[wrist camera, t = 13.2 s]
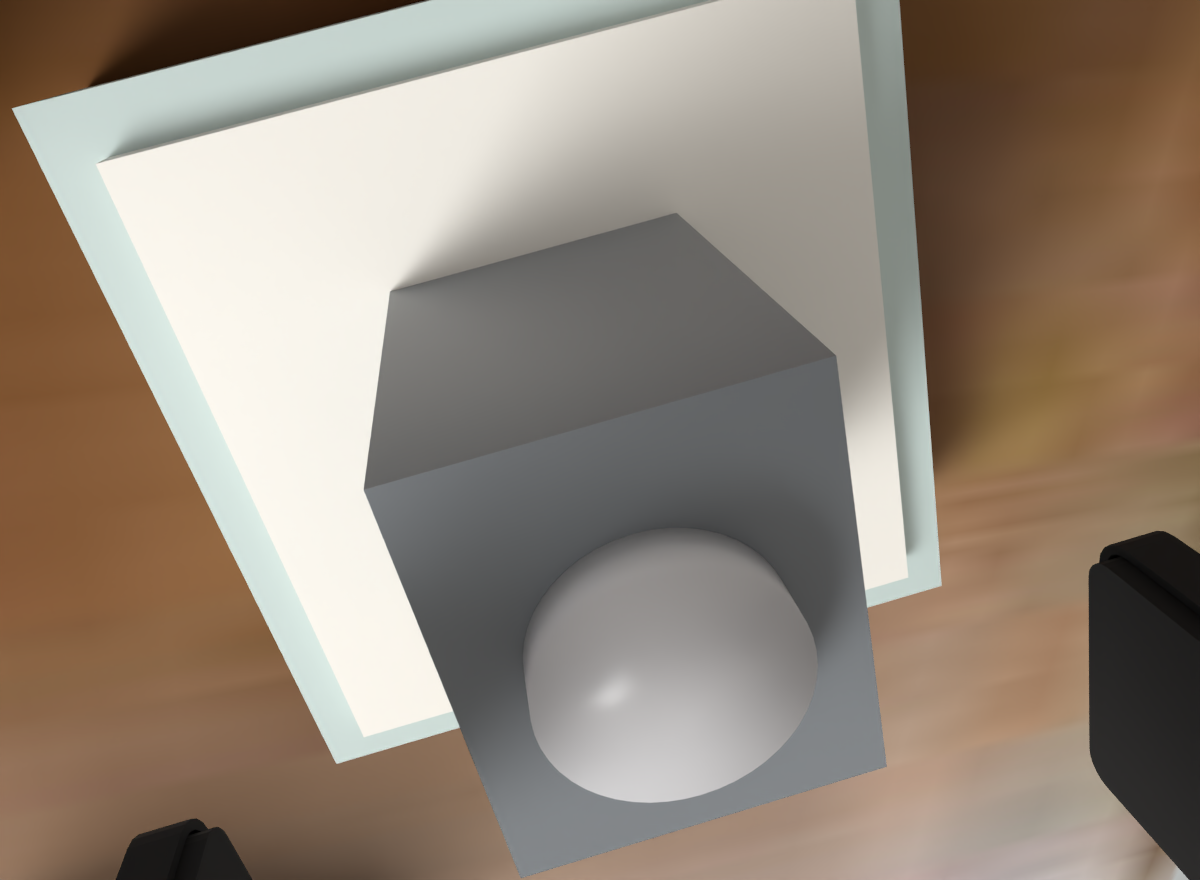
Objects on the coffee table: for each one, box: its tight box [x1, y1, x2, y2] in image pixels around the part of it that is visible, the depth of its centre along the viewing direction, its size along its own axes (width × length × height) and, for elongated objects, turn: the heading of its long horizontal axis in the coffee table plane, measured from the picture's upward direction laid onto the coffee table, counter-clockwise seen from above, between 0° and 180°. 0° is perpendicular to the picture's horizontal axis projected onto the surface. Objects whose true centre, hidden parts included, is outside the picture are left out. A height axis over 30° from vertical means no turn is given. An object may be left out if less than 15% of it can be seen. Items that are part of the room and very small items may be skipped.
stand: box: [12, 0, 941, 764], centre depth 19 cm, size 14×14×4 cm
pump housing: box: [364, 213, 887, 878], centre depth 14 cm, size 5×6×8 cm
